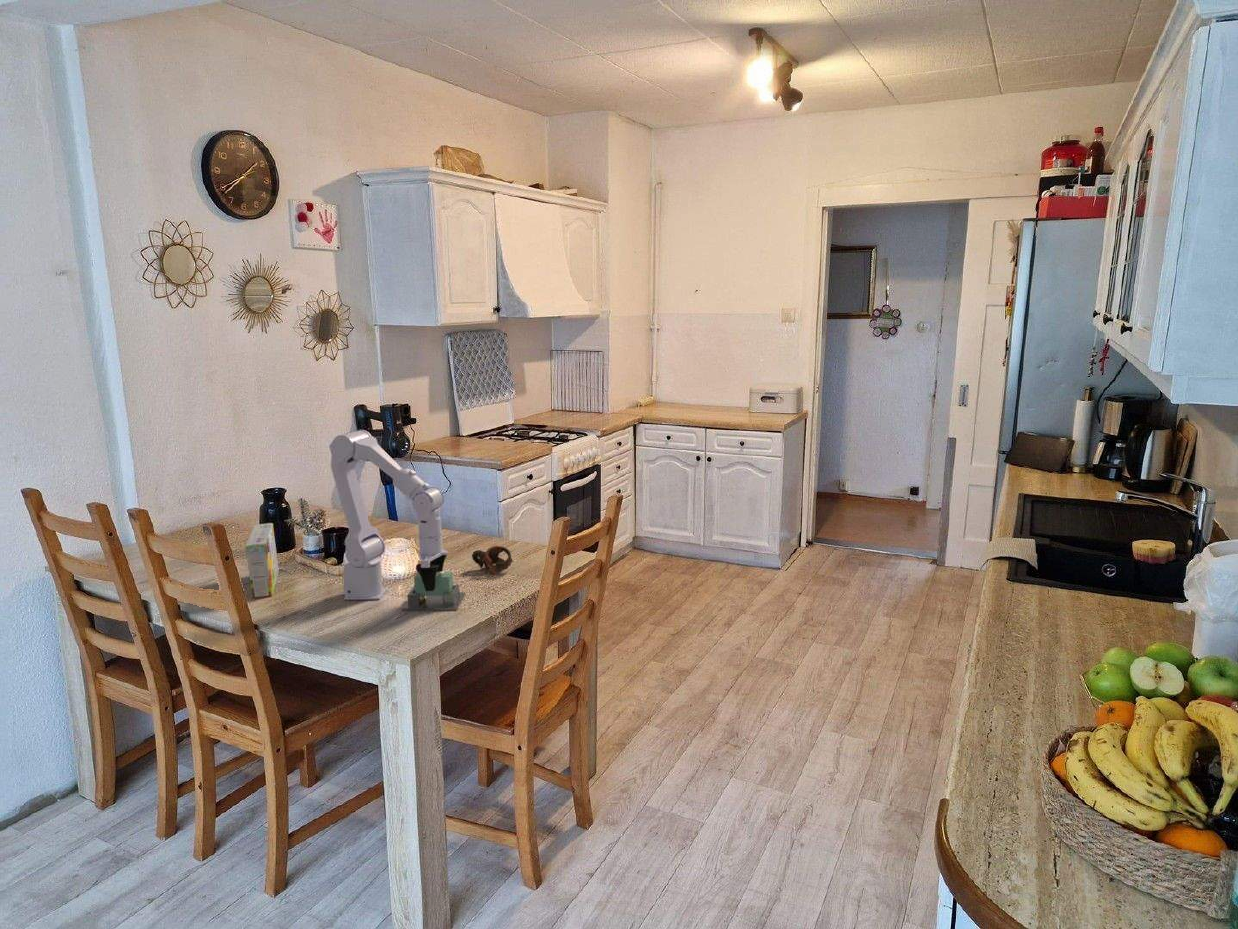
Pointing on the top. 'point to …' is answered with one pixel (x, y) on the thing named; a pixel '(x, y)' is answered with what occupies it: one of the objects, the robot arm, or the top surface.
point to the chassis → (434, 601)
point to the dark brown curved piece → (492, 559)
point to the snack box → (262, 560)
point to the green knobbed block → (441, 584)
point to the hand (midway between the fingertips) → (433, 585)
